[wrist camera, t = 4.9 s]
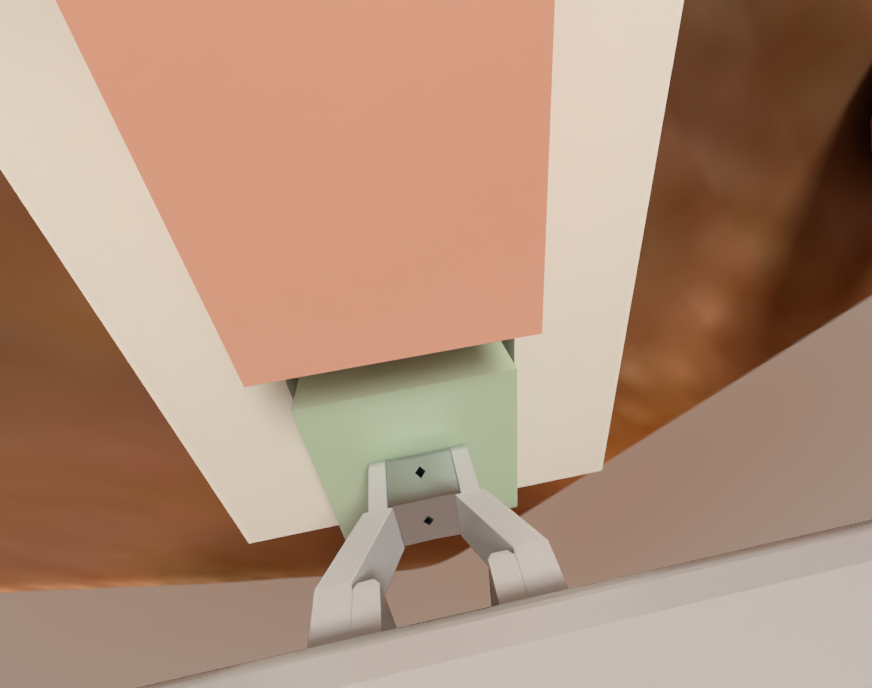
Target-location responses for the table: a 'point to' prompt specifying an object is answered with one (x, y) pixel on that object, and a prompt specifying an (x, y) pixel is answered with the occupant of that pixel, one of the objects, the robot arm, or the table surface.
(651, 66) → the key panel
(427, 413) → the sage key
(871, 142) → the soda can
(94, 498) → the table surface
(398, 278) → the terracotta key
